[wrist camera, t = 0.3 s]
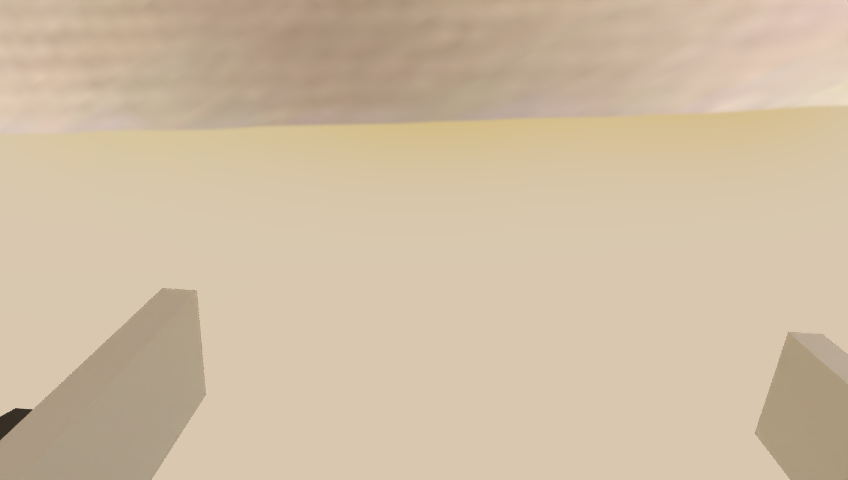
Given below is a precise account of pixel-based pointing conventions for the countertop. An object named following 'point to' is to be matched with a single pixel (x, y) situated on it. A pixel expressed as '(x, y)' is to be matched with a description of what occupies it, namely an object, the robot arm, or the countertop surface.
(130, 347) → the robot arm
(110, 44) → the countertop surface
